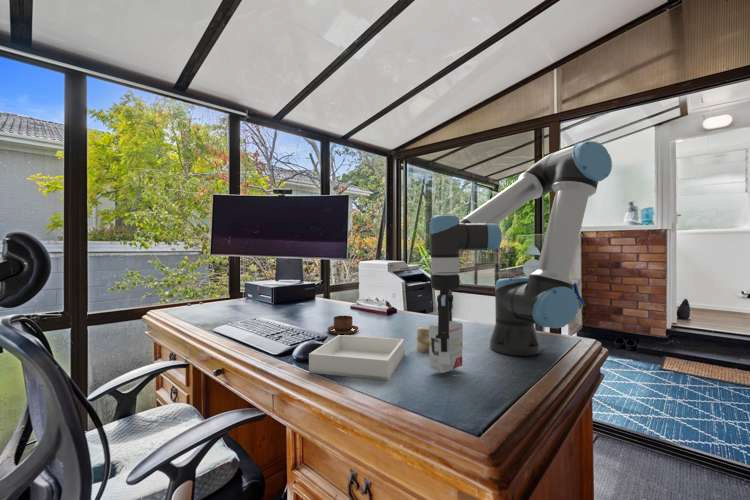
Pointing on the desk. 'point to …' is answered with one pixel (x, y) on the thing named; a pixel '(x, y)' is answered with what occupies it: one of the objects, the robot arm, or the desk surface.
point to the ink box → (455, 347)
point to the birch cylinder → (423, 339)
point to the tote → (358, 357)
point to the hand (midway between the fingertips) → (446, 357)
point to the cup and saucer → (342, 325)
